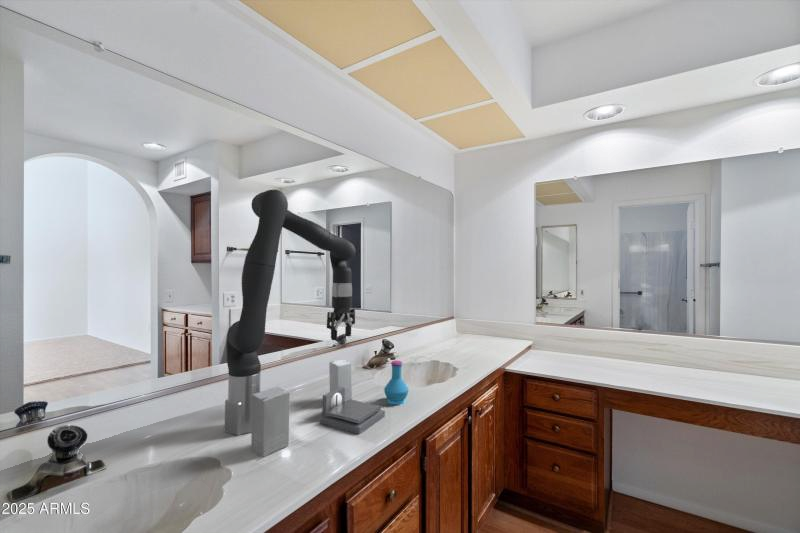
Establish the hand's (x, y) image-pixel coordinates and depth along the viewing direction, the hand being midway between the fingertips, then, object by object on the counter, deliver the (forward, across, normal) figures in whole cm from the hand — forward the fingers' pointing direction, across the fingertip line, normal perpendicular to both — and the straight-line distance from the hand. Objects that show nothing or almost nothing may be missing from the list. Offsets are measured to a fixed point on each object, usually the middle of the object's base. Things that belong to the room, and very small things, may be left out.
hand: (341, 338), depth 136 cm
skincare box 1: (+24, +38, +5) cm, 45 cm away
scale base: (+24, +11, +14) cm, 30 cm away
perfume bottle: (+24, -11, +18) cm, 32 cm away
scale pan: (+22, +11, +14) cm, 28 cm away
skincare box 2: (+24, 0, 0) cm, 24 cm away
